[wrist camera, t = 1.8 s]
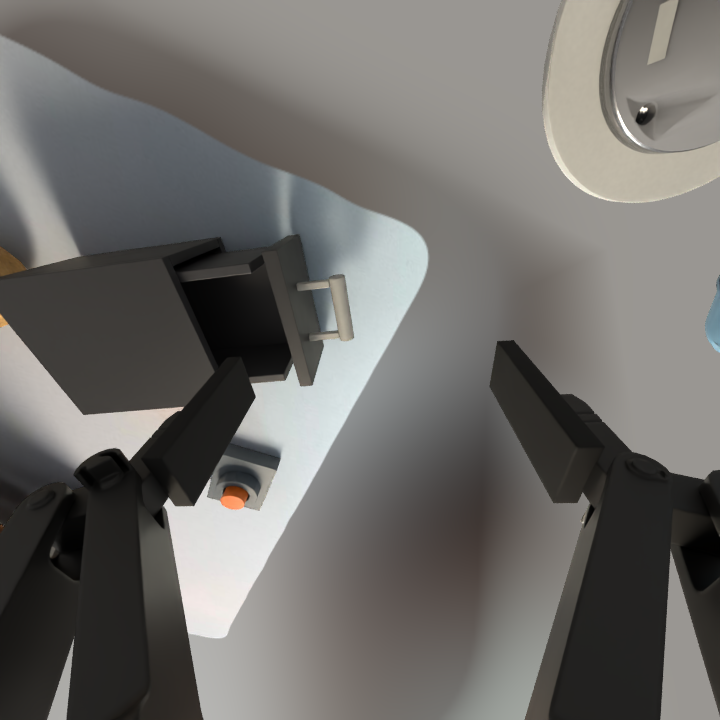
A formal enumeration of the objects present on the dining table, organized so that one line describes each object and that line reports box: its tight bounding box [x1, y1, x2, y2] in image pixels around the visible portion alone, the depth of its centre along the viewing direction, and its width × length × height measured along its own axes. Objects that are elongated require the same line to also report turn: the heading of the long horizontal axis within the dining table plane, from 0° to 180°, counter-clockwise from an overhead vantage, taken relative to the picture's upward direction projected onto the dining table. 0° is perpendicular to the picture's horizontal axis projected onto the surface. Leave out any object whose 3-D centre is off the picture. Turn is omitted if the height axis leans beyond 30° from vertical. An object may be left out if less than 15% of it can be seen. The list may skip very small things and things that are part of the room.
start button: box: [220, 486, 248, 510], centre depth 44 cm, size 4×4×2 cm
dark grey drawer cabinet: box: [0, 237, 225, 415], centre depth 29 cm, size 16×14×10 cm
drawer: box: [173, 234, 354, 386], centre depth 28 cm, size 19×12×8 cm, turn 97°
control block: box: [207, 444, 280, 511], centre depth 47 cm, size 12×9×4 cm
